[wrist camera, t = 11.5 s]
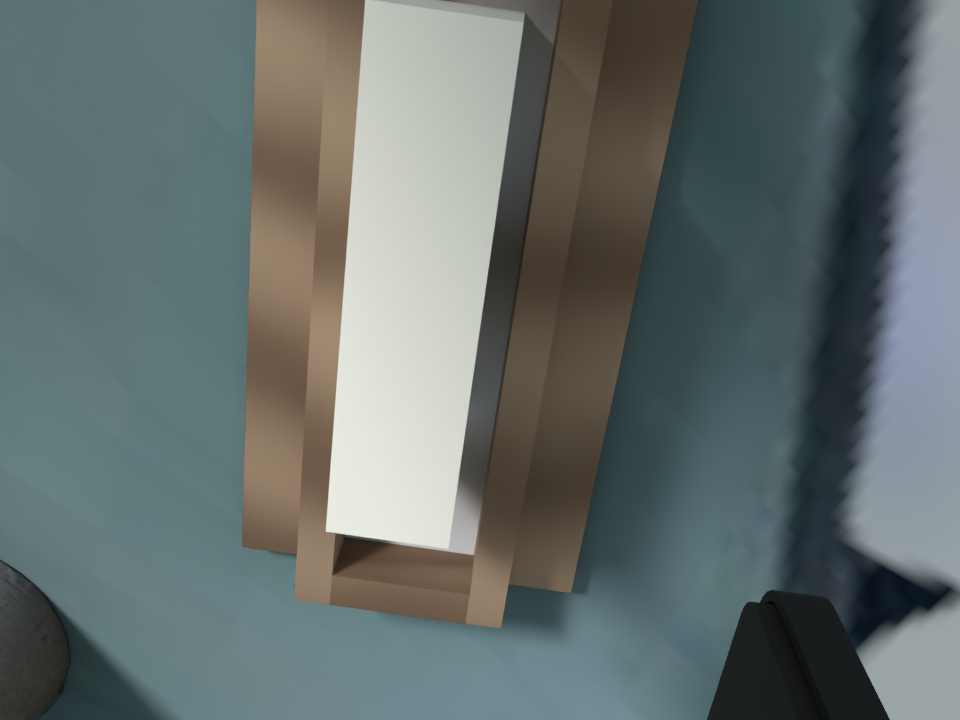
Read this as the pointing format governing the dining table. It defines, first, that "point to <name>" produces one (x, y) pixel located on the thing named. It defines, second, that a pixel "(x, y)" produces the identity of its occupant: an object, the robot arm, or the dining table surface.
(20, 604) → the pillar candle
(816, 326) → the dining table surface
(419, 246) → the white rectangular block
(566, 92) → the track frame
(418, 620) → the dining table surface
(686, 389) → the dining table surface
